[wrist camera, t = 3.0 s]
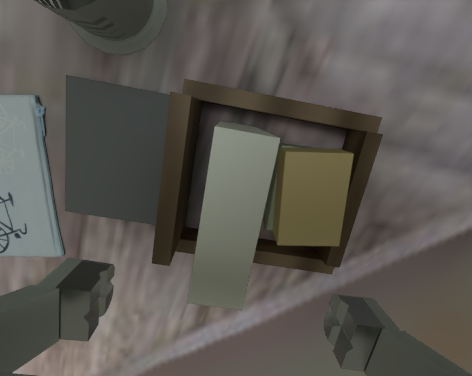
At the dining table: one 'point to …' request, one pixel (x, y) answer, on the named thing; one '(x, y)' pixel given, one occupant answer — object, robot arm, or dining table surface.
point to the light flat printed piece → (26, 181)
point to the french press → (114, 22)
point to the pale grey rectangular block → (231, 213)
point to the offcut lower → (274, 190)
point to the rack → (189, 109)
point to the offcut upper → (311, 196)
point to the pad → (114, 149)
